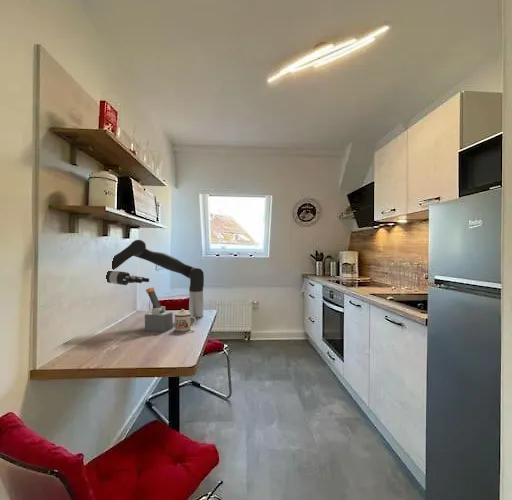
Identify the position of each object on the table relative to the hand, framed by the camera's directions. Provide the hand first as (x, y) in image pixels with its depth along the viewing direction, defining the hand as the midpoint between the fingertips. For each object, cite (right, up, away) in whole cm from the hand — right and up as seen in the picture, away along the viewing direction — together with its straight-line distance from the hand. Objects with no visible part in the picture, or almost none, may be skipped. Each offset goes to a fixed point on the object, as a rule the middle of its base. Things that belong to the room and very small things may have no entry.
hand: (145, 280), depth 205 cm
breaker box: (+8, -28, 0) cm, 29 cm away
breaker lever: (+8, -18, 0) cm, 20 cm away
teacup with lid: (+24, -28, -2) cm, 37 cm away
